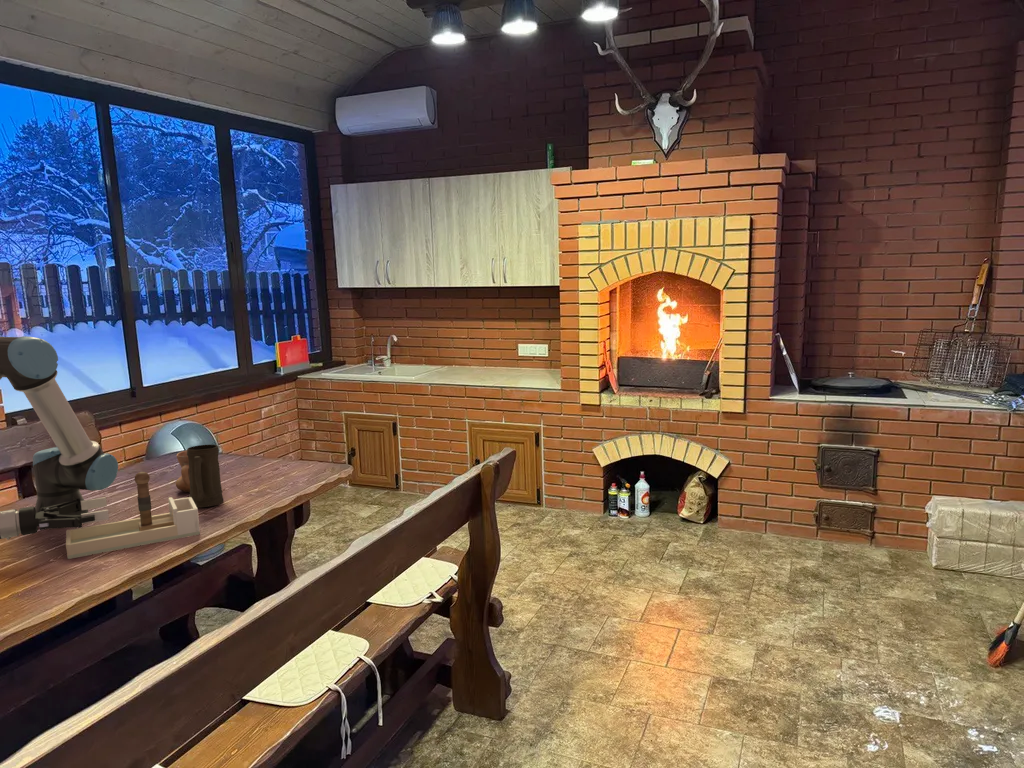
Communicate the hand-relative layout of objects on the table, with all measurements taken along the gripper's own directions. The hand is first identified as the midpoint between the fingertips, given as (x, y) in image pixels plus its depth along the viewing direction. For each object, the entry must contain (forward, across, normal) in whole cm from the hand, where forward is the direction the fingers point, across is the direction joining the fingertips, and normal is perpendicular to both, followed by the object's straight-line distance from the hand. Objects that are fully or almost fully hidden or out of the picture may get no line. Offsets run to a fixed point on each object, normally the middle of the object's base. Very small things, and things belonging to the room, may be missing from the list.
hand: (107, 507), depth 207 cm
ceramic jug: (+29, -42, -11) cm, 52 cm away
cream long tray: (+6, 0, -11) cm, 12 cm away
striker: (+13, 0, -10) cm, 16 cm away
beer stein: (+29, -21, -11) cm, 38 cm away
